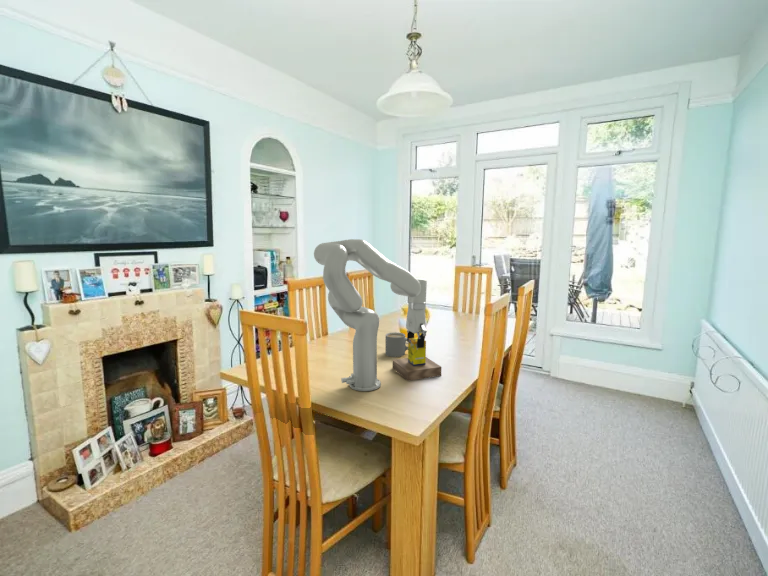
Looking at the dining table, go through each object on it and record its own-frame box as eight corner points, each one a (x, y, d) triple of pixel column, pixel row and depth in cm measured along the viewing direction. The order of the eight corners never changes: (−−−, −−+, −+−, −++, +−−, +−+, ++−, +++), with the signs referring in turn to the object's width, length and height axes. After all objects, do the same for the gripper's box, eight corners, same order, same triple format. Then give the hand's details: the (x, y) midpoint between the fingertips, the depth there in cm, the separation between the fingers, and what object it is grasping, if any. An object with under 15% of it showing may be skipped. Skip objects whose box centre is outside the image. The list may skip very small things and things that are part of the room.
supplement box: (407, 362, 169) (407, 338, 168) (419, 360, 171) (420, 337, 170) (413, 366, 164) (413, 341, 162) (425, 364, 166) (426, 340, 164)
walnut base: (407, 380, 158) (407, 371, 158) (392, 368, 173) (392, 359, 172) (441, 375, 164) (441, 366, 163) (423, 364, 179) (424, 355, 178)
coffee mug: (384, 356, 190) (384, 337, 188) (386, 350, 199) (387, 332, 198) (410, 357, 188) (411, 338, 186) (412, 351, 197) (412, 333, 196)
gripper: (400, 303, 171) (399, 340, 173) (418, 309, 155) (416, 350, 157) (415, 302, 173) (414, 339, 176) (434, 309, 158) (432, 349, 160)
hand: (415, 344), depth 166 cm, fingers open, 9 cm apart
